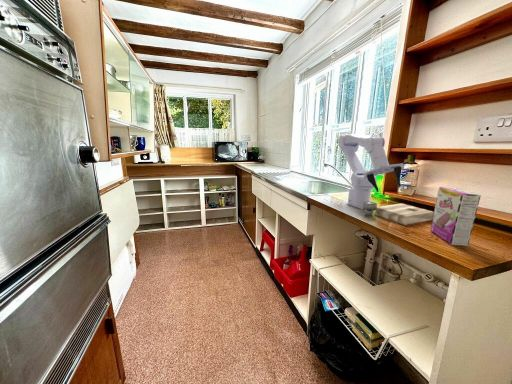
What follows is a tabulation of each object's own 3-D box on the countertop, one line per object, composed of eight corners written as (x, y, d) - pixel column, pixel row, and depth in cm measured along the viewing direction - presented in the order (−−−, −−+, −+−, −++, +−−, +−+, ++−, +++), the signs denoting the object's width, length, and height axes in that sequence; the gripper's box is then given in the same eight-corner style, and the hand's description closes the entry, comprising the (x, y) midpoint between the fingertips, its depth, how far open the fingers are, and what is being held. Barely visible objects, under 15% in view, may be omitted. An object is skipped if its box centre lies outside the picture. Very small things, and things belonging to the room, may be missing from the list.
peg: (358, 214, 92) (360, 201, 91) (367, 213, 94) (369, 200, 93) (369, 218, 88) (371, 205, 87) (377, 217, 90) (379, 203, 88)
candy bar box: (428, 231, 76) (438, 186, 72) (444, 232, 75) (455, 187, 71) (449, 245, 65) (462, 193, 61) (469, 247, 64) (482, 194, 60)
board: (374, 214, 93) (375, 207, 92) (400, 210, 99) (401, 203, 98) (405, 225, 81) (406, 216, 80) (431, 219, 87) (433, 211, 87)
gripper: (359, 160, 90) (367, 188, 84) (399, 150, 84) (410, 179, 78) (361, 168, 96) (369, 195, 90) (399, 159, 89) (409, 187, 83)
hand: (388, 188), depth 84 cm, fingers open, 7 cm apart
